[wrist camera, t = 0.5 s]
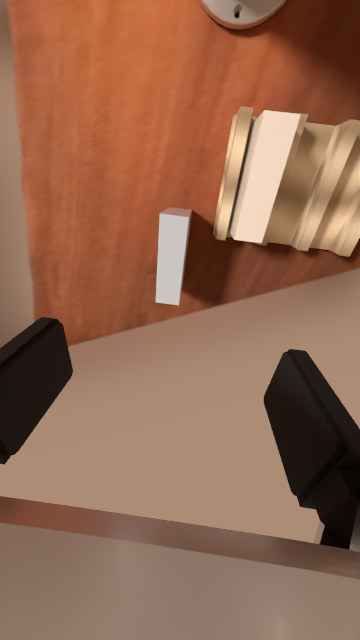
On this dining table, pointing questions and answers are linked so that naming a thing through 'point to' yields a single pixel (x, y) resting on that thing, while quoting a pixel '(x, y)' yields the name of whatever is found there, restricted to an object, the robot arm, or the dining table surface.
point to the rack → (303, 186)
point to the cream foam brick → (261, 173)
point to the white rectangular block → (172, 254)
